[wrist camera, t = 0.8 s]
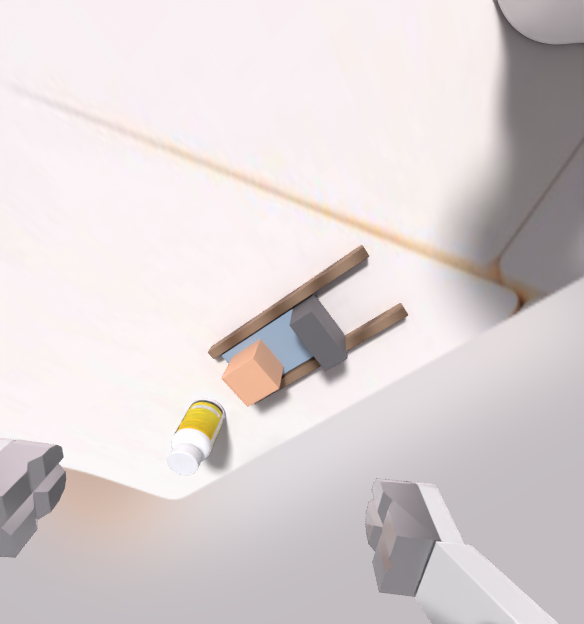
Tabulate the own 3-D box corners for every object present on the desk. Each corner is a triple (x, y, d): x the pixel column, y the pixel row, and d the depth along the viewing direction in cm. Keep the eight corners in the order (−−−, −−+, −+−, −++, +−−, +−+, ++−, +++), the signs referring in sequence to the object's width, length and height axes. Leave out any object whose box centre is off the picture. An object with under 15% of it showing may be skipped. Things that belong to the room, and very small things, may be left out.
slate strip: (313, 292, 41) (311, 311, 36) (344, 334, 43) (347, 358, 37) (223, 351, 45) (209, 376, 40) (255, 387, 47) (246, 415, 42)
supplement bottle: (187, 396, 49) (157, 446, 40) (223, 397, 49) (201, 448, 40) (192, 425, 51) (165, 478, 42) (227, 426, 51) (206, 481, 42)
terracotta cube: (260, 338, 43) (253, 358, 38) (283, 366, 44) (279, 388, 40) (231, 357, 45) (221, 378, 40) (255, 383, 46) (247, 406, 41)
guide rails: (362, 244, 38) (363, 247, 37) (405, 310, 41) (408, 315, 40) (211, 346, 46) (207, 352, 44) (256, 397, 48) (254, 404, 47)
